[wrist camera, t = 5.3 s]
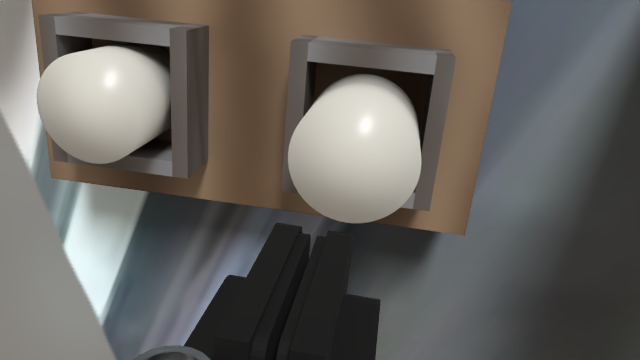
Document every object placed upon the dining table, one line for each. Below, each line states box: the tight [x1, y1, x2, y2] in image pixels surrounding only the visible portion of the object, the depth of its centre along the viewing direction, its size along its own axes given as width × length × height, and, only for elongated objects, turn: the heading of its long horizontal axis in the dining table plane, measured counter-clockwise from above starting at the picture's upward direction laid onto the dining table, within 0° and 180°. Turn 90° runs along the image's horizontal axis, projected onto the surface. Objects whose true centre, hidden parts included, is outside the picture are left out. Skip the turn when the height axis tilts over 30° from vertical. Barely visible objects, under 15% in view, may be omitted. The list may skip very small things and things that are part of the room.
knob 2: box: [288, 74, 421, 223], centre depth 22 cm, size 5×5×5 cm
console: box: [32, 0, 512, 235], centre depth 29 cm, size 24×12×9 cm, turn 85°
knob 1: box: [37, 42, 171, 164], centre depth 26 cm, size 5×5×5 cm
